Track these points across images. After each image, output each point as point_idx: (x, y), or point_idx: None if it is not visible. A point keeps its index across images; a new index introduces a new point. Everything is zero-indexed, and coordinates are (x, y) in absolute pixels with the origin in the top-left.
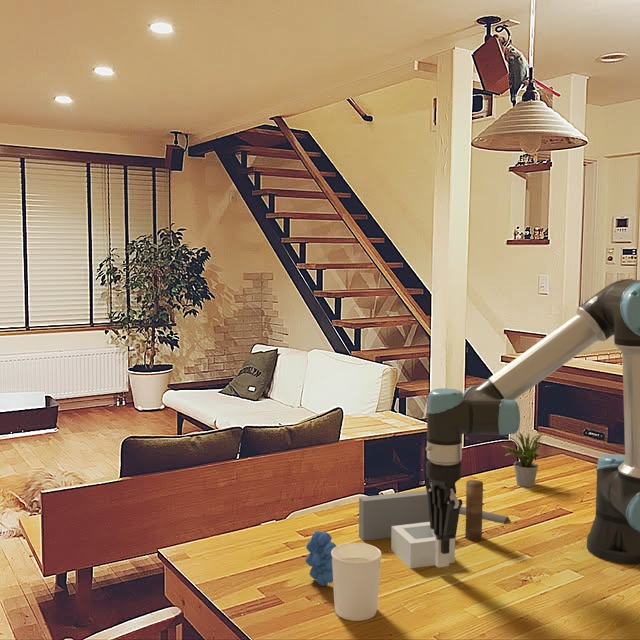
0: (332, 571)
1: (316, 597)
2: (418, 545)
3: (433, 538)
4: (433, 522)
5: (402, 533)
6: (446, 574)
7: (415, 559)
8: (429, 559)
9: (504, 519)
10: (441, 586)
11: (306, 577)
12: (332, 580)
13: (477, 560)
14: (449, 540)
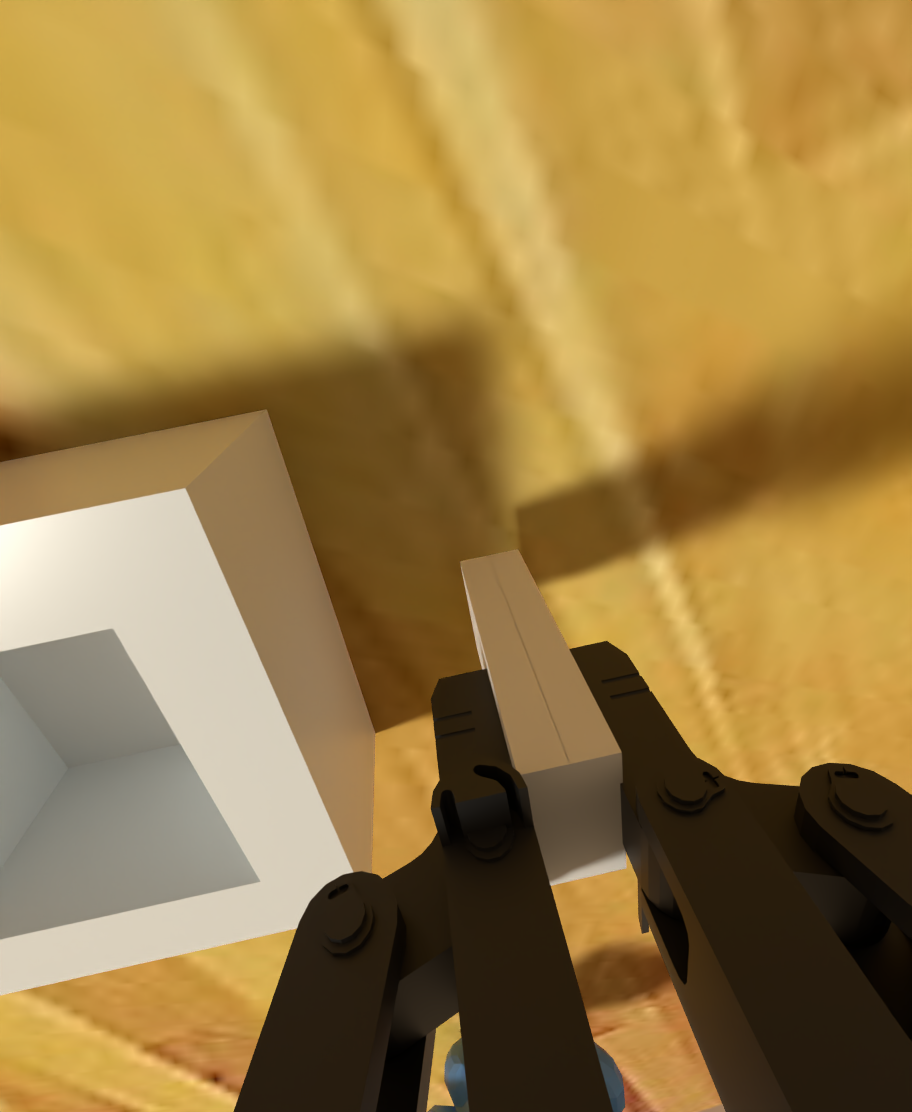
0: (621, 1110)
1: (606, 1016)
2: (351, 836)
3: (228, 742)
4: (419, 1107)
5: (109, 953)
6: (499, 536)
7: (363, 752)
8: (331, 651)
9: None
10: (666, 608)
11: (435, 1051)
12: (609, 1055)
13: (196, 116)
14: (694, 756)
